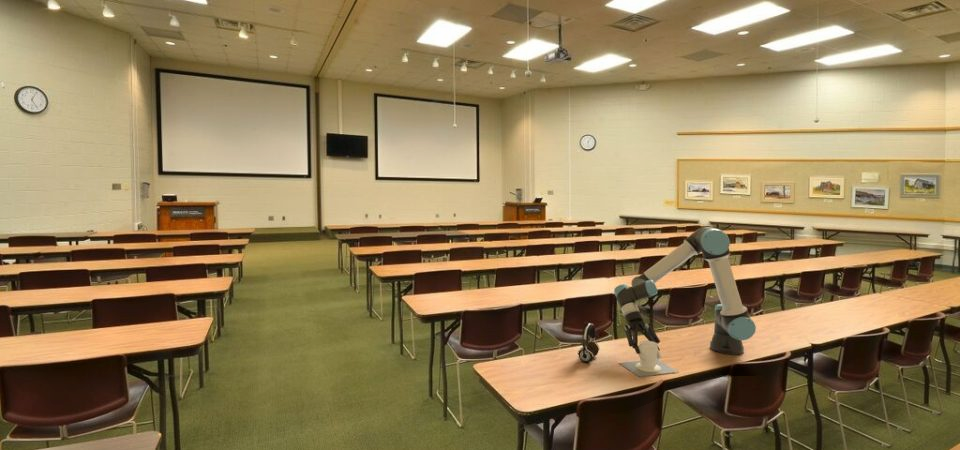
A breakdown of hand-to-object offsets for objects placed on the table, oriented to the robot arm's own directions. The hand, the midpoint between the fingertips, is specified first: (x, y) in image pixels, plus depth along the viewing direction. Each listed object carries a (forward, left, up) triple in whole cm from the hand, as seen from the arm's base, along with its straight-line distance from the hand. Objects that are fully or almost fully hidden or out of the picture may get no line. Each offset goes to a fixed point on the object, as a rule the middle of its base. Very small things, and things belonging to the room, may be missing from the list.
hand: (651, 359), depth 205 cm
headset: (+21, -19, -5) cm, 29 cm away
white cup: (0, -3, -4) cm, 5 cm away
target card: (0, -2, -5) cm, 6 cm away
